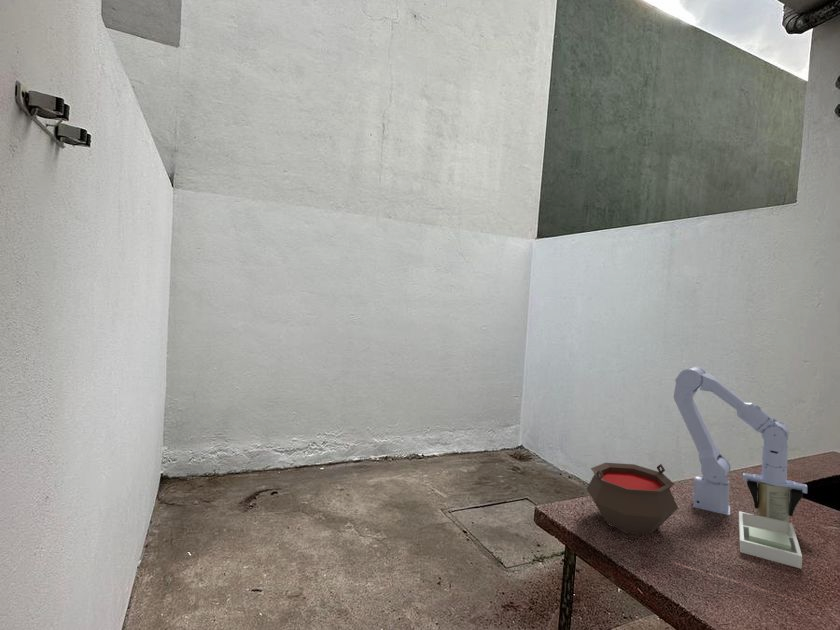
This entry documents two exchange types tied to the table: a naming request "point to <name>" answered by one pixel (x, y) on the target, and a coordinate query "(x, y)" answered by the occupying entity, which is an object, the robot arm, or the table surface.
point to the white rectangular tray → (769, 552)
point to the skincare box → (773, 502)
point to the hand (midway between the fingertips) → (772, 510)
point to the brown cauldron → (632, 496)
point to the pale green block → (769, 538)
